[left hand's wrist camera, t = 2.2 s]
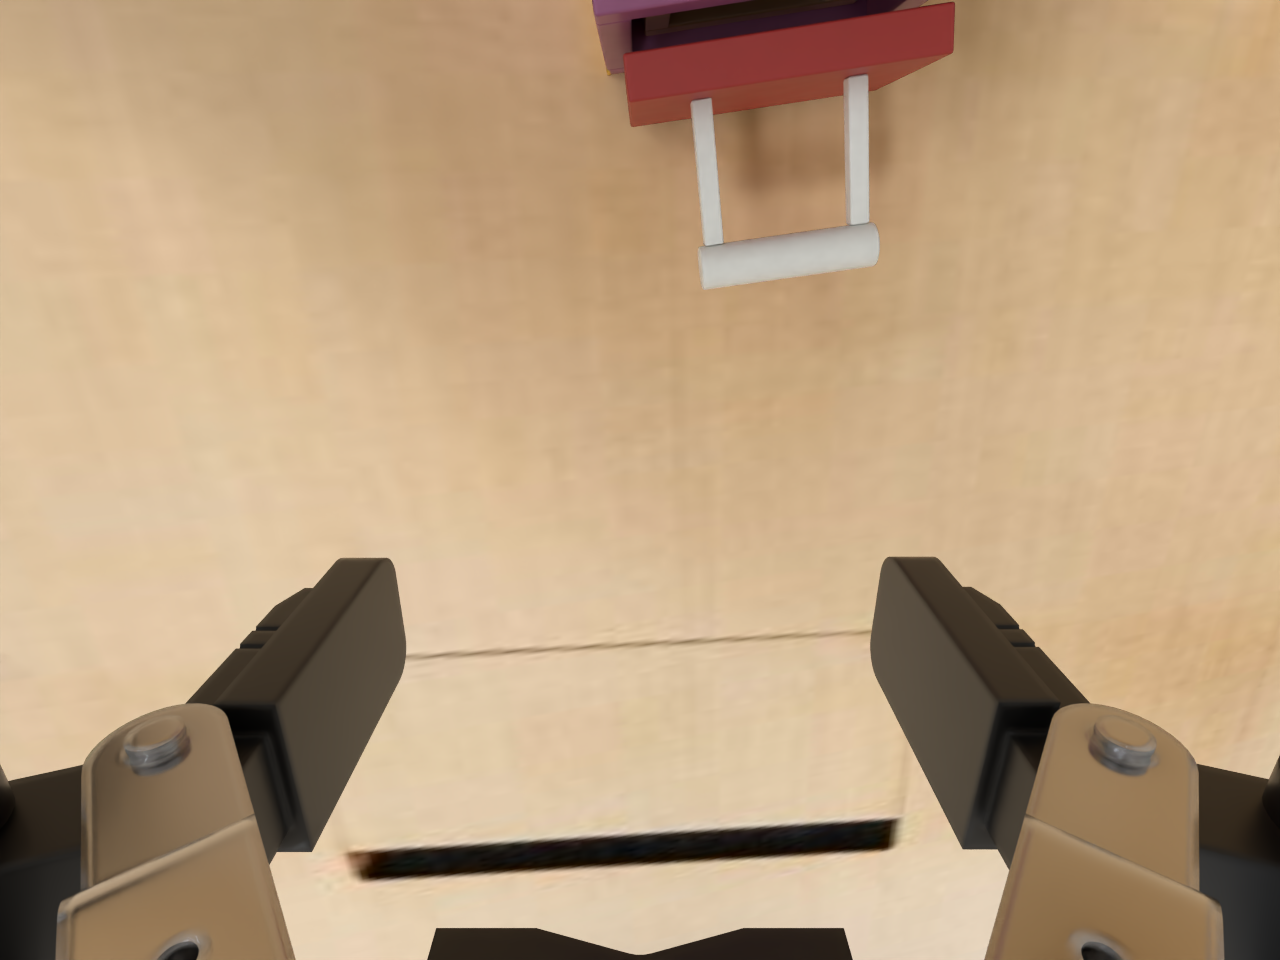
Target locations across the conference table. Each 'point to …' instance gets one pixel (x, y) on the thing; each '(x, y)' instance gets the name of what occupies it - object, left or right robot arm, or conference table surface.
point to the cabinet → (627, 3)
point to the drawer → (773, 76)
